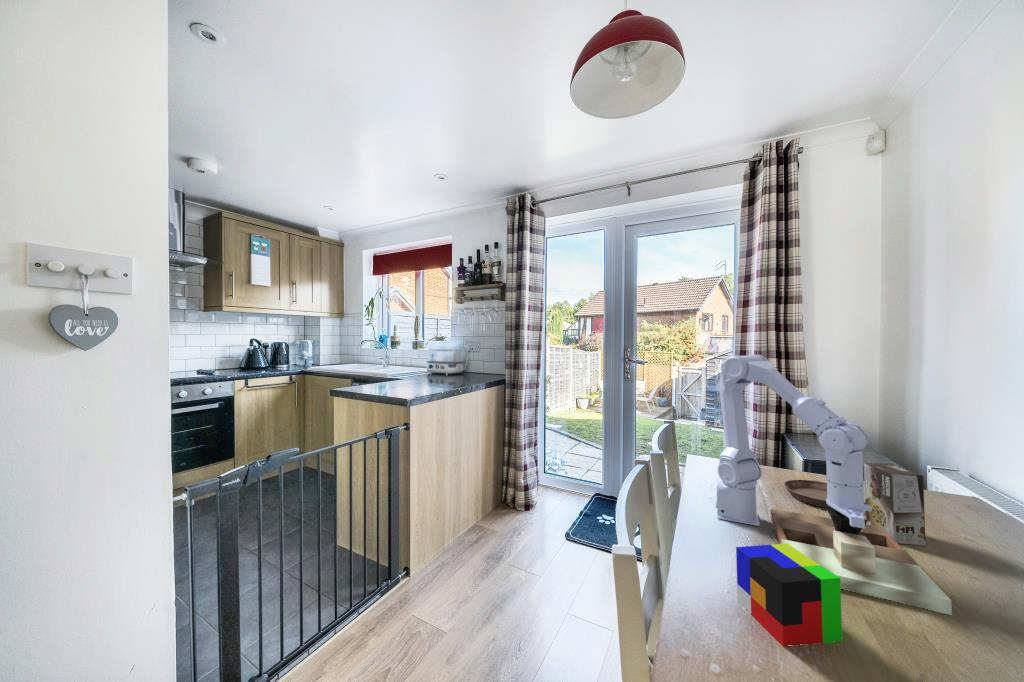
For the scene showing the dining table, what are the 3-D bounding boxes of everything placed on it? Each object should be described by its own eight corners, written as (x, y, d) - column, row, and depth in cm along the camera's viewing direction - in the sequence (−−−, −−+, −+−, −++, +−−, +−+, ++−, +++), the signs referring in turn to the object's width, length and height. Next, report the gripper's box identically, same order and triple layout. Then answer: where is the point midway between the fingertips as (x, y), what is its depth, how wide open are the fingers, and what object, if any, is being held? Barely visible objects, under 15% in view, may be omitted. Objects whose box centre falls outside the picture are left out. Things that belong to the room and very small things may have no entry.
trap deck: (791, 577, 72) (791, 565, 72) (770, 518, 97) (770, 508, 97) (951, 615, 62) (951, 600, 62) (882, 537, 86) (882, 527, 86)
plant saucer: (783, 484, 120) (783, 474, 120) (855, 496, 110) (855, 486, 110) (785, 503, 106) (784, 492, 106) (868, 519, 96) (868, 507, 96)
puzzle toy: (737, 602, 66) (736, 547, 66) (788, 597, 67) (786, 543, 67) (783, 647, 56) (781, 582, 56) (842, 641, 57) (840, 577, 57)
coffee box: (927, 546, 82) (925, 475, 83) (894, 543, 84) (892, 474, 84) (894, 526, 91) (892, 462, 91) (864, 524, 93) (862, 461, 93)
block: (841, 567, 71) (840, 542, 71) (833, 554, 76) (833, 530, 76) (875, 574, 69) (875, 548, 69) (865, 560, 73) (865, 536, 73)
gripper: (885, 498, 68) (887, 571, 68) (857, 473, 80) (859, 535, 80) (836, 491, 71) (838, 561, 71) (816, 469, 84) (818, 527, 84)
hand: (846, 546), depth 76 cm, fingers closed
